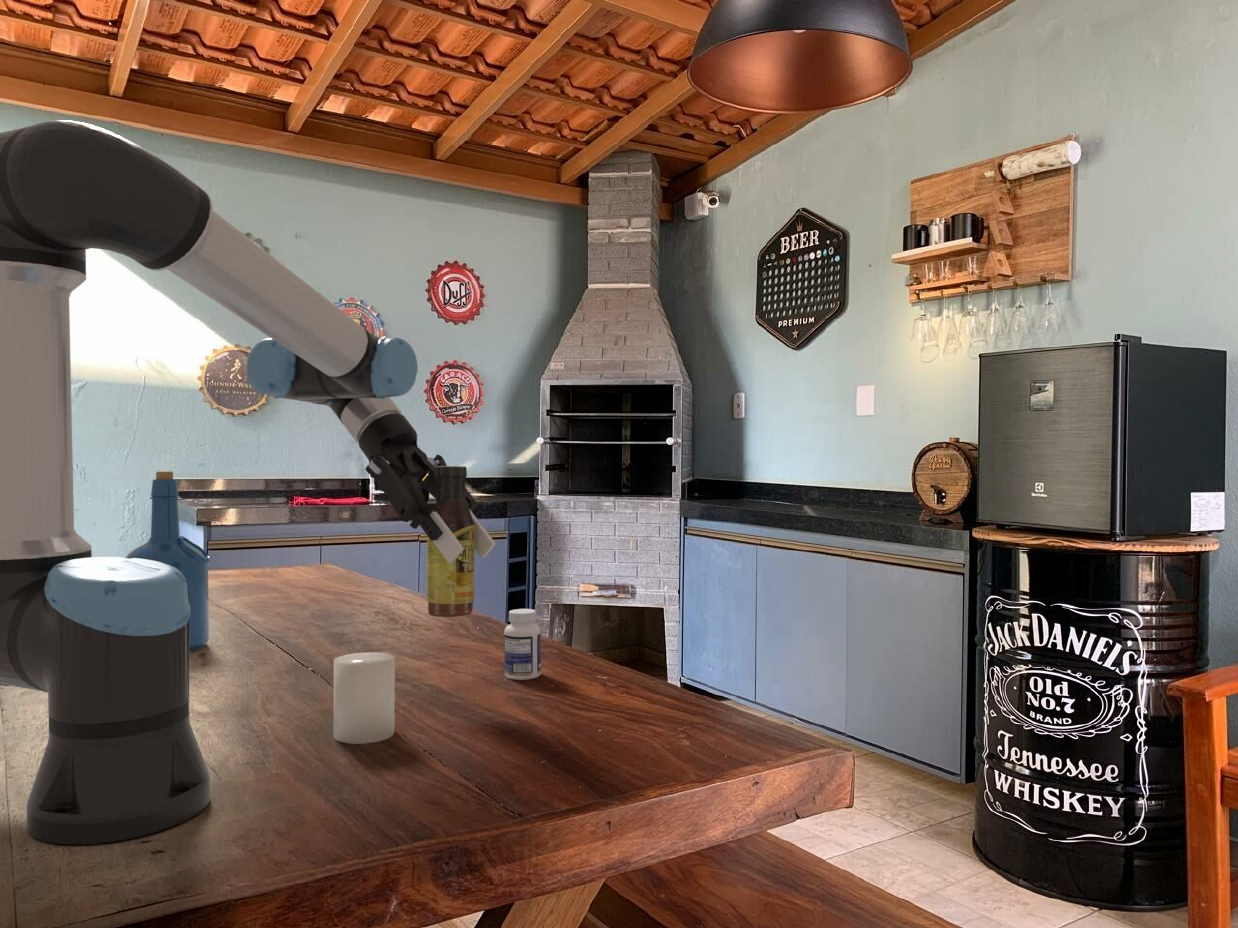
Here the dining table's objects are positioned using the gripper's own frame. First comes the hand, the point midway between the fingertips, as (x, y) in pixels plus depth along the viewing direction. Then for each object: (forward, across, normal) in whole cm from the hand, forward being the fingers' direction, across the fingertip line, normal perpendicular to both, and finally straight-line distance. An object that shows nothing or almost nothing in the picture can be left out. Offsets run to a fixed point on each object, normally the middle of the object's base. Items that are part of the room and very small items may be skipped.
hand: (472, 553), depth 123 cm
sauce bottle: (+4, 0, -9) cm, 9 cm away
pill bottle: (+12, -16, -17) cm, 26 cm away
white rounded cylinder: (+12, +16, -17) cm, 26 cm away
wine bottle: (-32, -2, -61) cm, 69 cm away
